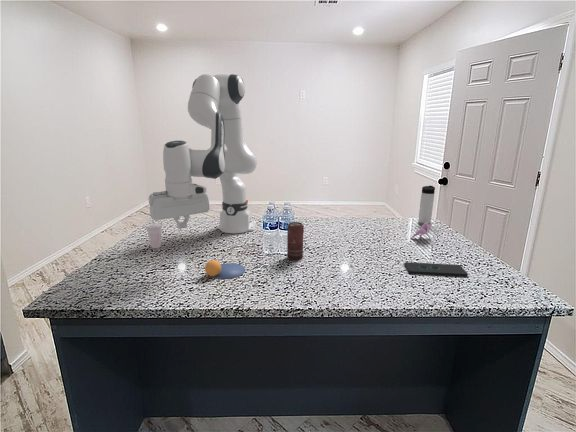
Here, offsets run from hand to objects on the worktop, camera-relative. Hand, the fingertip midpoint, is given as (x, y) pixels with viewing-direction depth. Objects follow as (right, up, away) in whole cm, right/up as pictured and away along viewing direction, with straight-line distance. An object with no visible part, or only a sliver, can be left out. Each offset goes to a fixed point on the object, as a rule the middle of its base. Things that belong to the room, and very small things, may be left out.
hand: (182, 227), depth 120 cm
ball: (+12, -14, -3) cm, 18 cm away
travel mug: (+110, 0, +61) cm, 126 cm away
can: (+40, -12, +14) cm, 44 cm away
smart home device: (+91, -16, +3) cm, 92 cm away
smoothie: (-19, -9, +24) cm, 32 cm away
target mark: (+16, -15, +1) cm, 22 cm away
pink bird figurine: (+100, -7, +36) cm, 106 cm away
